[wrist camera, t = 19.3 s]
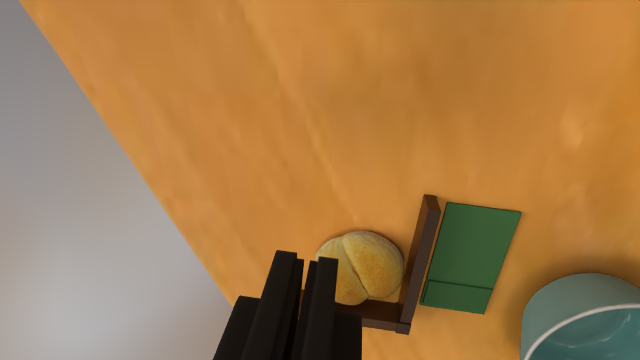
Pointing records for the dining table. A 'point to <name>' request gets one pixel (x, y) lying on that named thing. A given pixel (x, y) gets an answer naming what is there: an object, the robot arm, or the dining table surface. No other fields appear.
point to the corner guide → (403, 310)
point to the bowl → (582, 320)
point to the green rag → (468, 257)
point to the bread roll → (364, 266)
